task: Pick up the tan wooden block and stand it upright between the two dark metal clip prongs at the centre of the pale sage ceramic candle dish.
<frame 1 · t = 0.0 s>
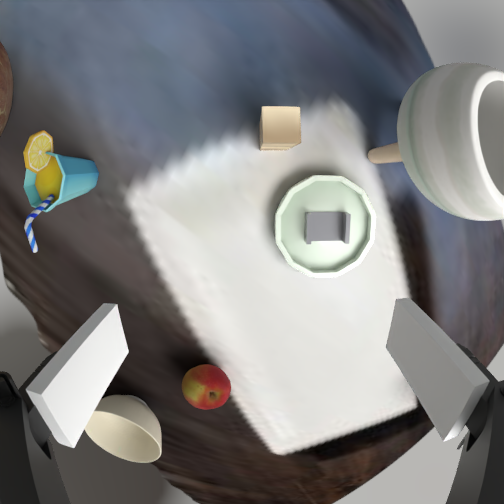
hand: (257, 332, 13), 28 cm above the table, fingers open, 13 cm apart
tan wooden block: (272, 137, 36), on the table
vase: (1, 112, 33), on the table
apple: (209, 371, 47), on the table
cup: (86, 181, 38), on the table
planter: (402, 145, 36), on the table
dish: (324, 225, 40), on the table
bowl: (135, 404, 50), on the table
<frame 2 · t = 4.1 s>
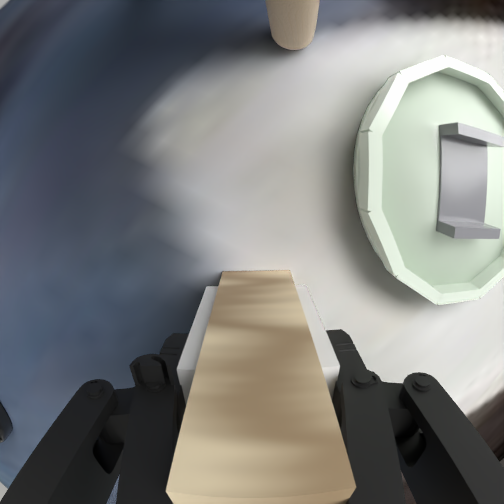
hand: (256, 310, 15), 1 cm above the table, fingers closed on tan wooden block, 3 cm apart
tan wooden block: (256, 301, 16), on the table, touching gripper
dish: (456, 180, 14), on the table
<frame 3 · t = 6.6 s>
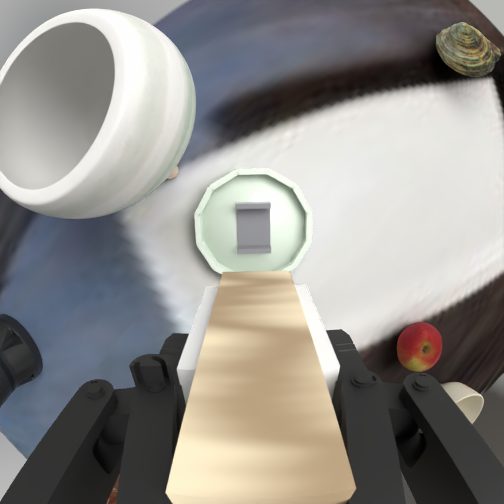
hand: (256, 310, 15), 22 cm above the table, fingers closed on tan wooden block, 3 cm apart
tan wooden block: (256, 301, 16), point 21 cm above the table, touching gripper
seashell: (454, 60, 29), on the table
apple: (408, 333, 41), on the table
planter: (155, 133, 33), on the table
dish: (253, 224, 36), on the table
bowl: (430, 394, 46), on the table
when the fingers open (3 cm above the table, at t = 9.5 s): tan wooden block drops 1 cm, resting on dish.
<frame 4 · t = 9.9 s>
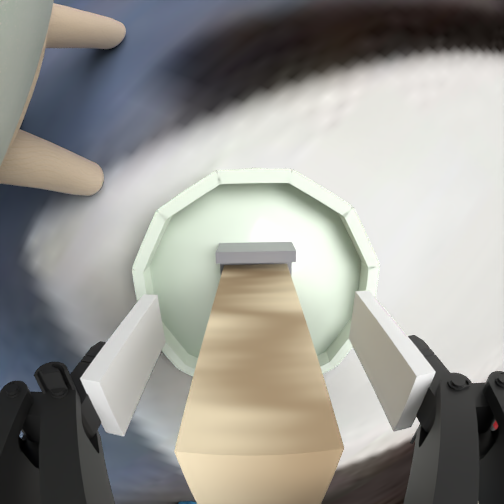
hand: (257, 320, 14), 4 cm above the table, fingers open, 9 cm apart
tan wooden block: (256, 293, 17), point 1 cm above the table, touching dish
planter: (70, 108, 15), on the table
dish: (256, 286, 18), on the table
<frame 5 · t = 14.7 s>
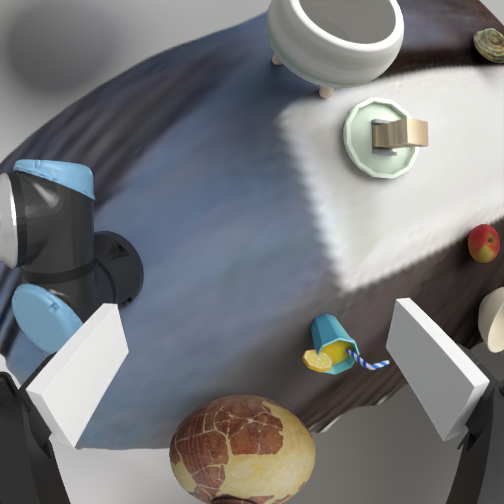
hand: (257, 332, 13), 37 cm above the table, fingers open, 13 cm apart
tan wooden block: (382, 137, 43), point 1 cm above the table, touching dish
vase: (244, 405, 60), on the table
seashell: (483, 52, 36), on the table
apple: (472, 238, 49), on the table
cup: (328, 324, 54), on the table
planter: (310, 66, 41), on the table
dish: (380, 138, 44), on the table
bowl: (486, 304, 54), on the table
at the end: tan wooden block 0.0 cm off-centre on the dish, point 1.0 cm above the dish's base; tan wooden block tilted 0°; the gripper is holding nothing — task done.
